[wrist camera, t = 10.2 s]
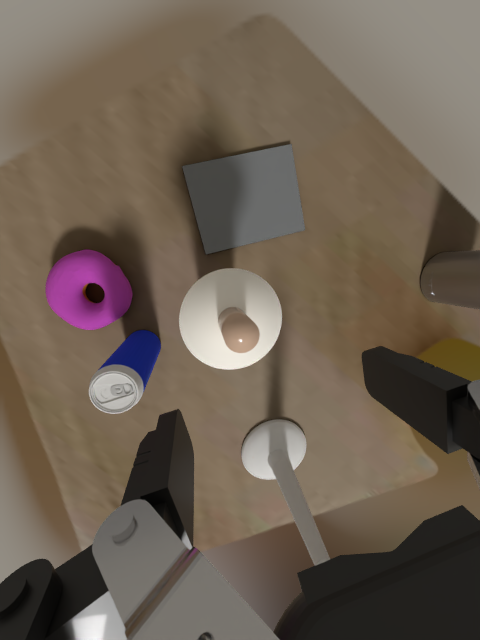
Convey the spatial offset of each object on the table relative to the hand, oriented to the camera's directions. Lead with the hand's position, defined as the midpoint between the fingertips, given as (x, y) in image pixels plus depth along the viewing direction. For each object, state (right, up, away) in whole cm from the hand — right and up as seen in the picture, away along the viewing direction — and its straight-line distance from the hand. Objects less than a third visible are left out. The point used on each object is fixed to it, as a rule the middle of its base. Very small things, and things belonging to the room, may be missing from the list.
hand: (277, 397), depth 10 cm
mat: (-1, +21, +26) cm, 34 cm away
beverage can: (-17, -1, +28) cm, 33 cm away
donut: (-23, +8, +26) cm, 35 cm away
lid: (-2, +3, +14) cm, 15 cm away
